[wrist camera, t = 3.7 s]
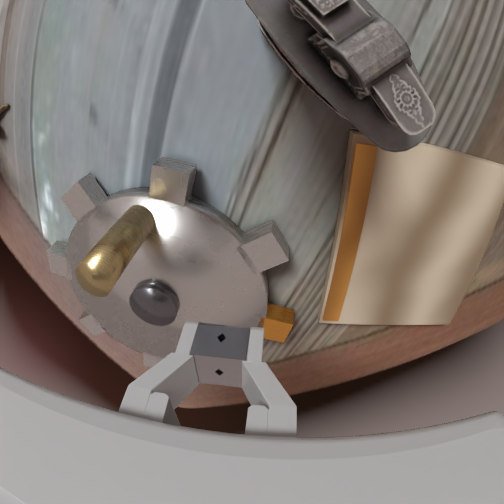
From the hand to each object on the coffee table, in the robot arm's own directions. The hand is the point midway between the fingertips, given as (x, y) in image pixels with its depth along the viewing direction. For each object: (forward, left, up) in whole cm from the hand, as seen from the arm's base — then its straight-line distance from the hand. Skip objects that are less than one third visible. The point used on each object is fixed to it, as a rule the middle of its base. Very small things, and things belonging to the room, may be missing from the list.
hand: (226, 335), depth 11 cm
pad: (-11, +1, -9) cm, 15 cm away
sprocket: (+7, +6, -9) cm, 13 cm away
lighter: (-3, -10, -10) cm, 14 cm away
